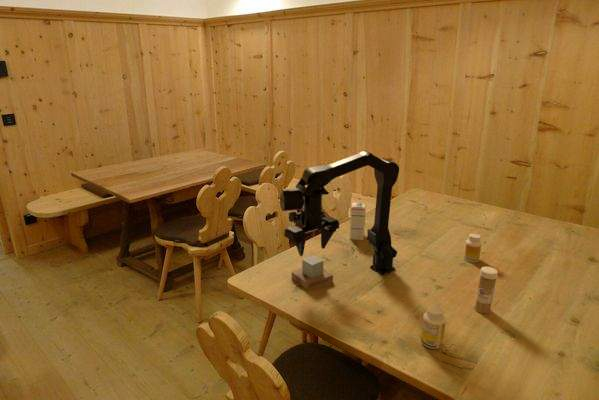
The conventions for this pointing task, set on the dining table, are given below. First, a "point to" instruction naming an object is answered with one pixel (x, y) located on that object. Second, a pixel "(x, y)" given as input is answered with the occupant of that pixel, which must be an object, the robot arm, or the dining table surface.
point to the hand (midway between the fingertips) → (312, 252)
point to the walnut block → (309, 282)
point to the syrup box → (357, 221)
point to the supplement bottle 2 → (472, 248)
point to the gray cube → (312, 266)
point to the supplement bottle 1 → (433, 327)
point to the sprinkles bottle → (486, 289)
